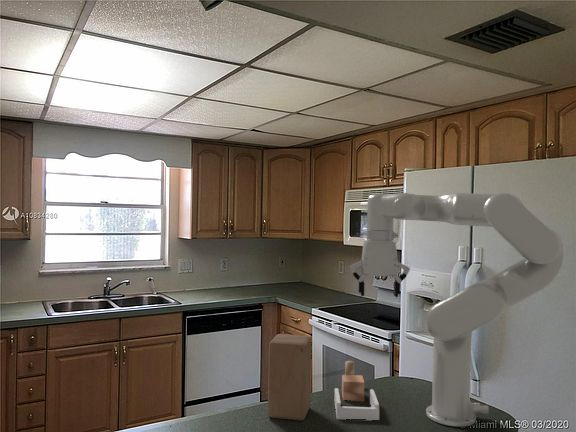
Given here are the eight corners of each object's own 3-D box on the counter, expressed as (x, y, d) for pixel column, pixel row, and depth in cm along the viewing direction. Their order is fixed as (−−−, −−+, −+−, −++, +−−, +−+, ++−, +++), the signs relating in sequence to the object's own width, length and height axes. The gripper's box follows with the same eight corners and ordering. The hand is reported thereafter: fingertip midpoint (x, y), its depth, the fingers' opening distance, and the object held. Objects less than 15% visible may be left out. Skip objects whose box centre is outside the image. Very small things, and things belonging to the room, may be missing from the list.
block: (358, 382, 151) (358, 361, 151) (364, 401, 136) (364, 377, 136) (339, 382, 152) (340, 360, 152) (343, 400, 136) (343, 376, 136)
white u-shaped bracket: (373, 403, 134) (373, 389, 134) (379, 420, 123) (379, 405, 123) (334, 402, 135) (334, 388, 135) (336, 419, 123) (336, 403, 123)
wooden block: (304, 422, 121) (306, 344, 121) (266, 418, 123) (268, 341, 123) (310, 407, 131) (311, 335, 131) (275, 403, 133) (276, 332, 133)
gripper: (407, 236, 141) (406, 294, 140) (349, 235, 141) (348, 293, 141) (412, 237, 133) (411, 298, 133) (351, 236, 134) (350, 297, 134)
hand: (379, 295), depth 137 cm, fingers open, 9 cm apart
